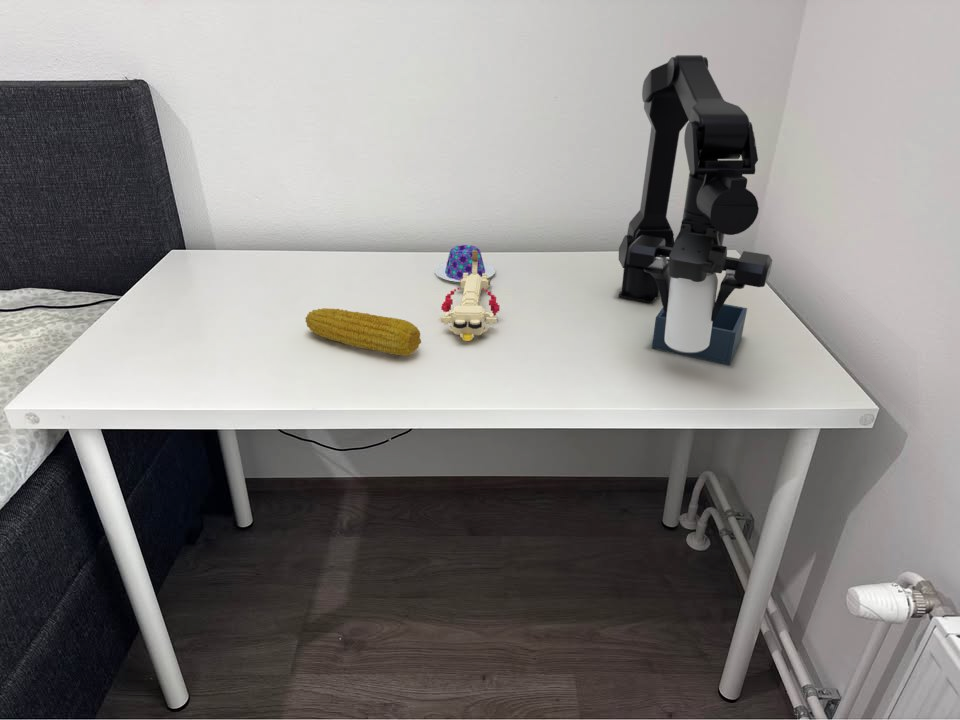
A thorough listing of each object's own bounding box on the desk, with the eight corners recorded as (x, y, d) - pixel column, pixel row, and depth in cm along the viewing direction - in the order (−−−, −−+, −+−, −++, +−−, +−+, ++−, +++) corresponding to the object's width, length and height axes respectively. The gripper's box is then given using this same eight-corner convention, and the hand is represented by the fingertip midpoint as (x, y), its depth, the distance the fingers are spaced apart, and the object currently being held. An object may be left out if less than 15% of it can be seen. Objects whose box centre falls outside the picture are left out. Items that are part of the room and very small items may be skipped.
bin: (651, 348, 114) (655, 316, 111) (667, 323, 121) (672, 294, 119) (729, 365, 109) (735, 333, 106) (741, 338, 117) (747, 308, 114)
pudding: (441, 262, 147) (440, 237, 145) (498, 264, 146) (498, 240, 143) (430, 283, 137) (429, 258, 135) (491, 287, 136) (491, 261, 133)
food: (425, 350, 113) (423, 316, 110) (407, 366, 108) (405, 331, 106) (316, 326, 120) (312, 294, 118) (296, 340, 116) (291, 307, 113)
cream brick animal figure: (449, 292, 137) (436, 341, 114) (449, 247, 133) (435, 289, 110) (501, 293, 136) (497, 342, 113) (501, 248, 133) (498, 291, 110)
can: (712, 338, 106) (723, 262, 100) (705, 357, 101) (715, 279, 95) (669, 331, 108) (676, 257, 102) (659, 349, 103) (666, 273, 97)
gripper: (620, 216, 92) (609, 324, 100) (770, 239, 84) (746, 353, 92) (644, 195, 101) (632, 295, 108) (782, 213, 93) (759, 320, 101)
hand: (689, 315), depth 102 cm, fingers closed on can, 6 cm apart
